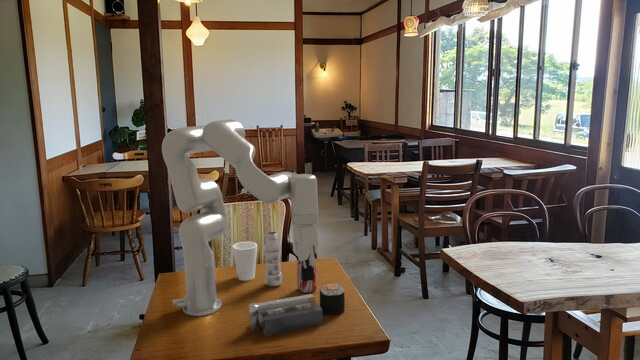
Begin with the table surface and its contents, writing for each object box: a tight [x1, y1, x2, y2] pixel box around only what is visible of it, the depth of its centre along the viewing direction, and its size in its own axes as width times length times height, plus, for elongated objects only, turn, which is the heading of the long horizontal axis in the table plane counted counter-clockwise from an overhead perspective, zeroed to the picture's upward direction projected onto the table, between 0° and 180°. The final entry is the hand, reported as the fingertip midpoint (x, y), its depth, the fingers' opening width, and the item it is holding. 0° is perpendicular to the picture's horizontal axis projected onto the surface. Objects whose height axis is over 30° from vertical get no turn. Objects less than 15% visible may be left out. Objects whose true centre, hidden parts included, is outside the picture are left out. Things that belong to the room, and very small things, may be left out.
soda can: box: [296, 258, 318, 294], centre depth 166 cm, size 7×7×12 cm
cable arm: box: [248, 293, 316, 315], centre depth 142 cm, size 20×3×2 cm, turn 111°
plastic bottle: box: [263, 231, 283, 287], centre depth 171 cm, size 6×7×20 cm
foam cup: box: [231, 241, 258, 282], centre depth 179 cm, size 10×9×13 cm
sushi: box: [319, 282, 346, 316], centre depth 151 cm, size 8×8×8 cm
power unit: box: [249, 300, 324, 337], centre depth 143 cm, size 21×10×5 cm, turn 111°
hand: (307, 279), depth 134 cm, fingers closed
